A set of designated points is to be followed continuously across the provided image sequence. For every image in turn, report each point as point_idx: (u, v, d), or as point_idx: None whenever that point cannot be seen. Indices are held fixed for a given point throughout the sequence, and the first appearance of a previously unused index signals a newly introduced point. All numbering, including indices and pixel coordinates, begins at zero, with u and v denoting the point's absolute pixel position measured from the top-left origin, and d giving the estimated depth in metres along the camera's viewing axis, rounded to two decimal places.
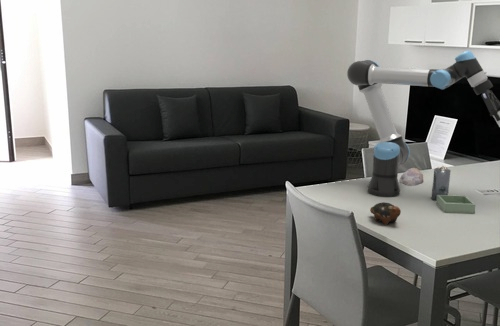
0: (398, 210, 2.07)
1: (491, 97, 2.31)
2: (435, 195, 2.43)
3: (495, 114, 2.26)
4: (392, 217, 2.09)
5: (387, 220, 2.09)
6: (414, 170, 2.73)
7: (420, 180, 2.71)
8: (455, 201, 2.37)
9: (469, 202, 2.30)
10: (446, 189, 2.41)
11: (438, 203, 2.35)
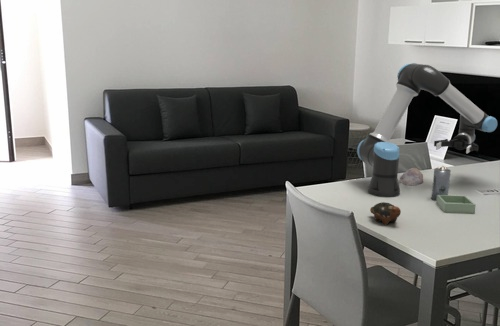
0: (398, 210, 2.07)
1: None
2: (435, 195, 2.43)
3: (473, 148, 2.50)
4: (392, 217, 2.09)
5: (387, 220, 2.09)
6: (414, 170, 2.73)
7: (420, 180, 2.71)
8: (455, 201, 2.37)
9: (469, 202, 2.30)
10: (446, 189, 2.41)
11: (438, 203, 2.35)
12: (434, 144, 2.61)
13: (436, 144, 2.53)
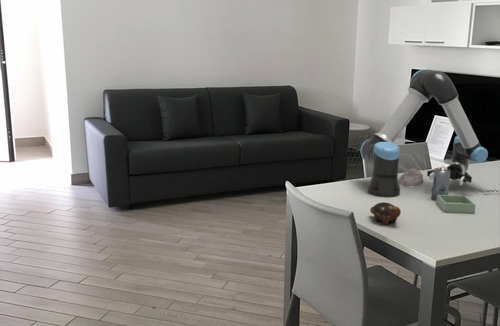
0: (398, 210, 2.07)
1: None
2: (435, 195, 2.43)
3: (467, 180, 2.48)
4: (392, 217, 2.09)
5: (387, 220, 2.09)
6: (414, 170, 2.72)
7: (420, 180, 2.70)
8: (455, 201, 2.37)
9: (469, 202, 2.30)
10: (446, 189, 2.41)
11: (438, 203, 2.35)
12: (427, 174, 2.58)
13: (429, 175, 2.50)
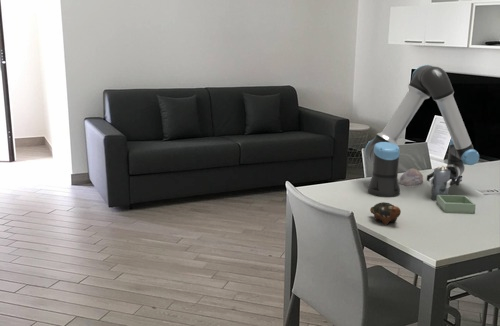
0: (398, 210, 2.07)
1: None
2: (435, 195, 2.43)
3: (454, 183, 2.42)
4: (392, 217, 2.09)
5: (387, 220, 2.09)
6: (414, 171, 2.72)
7: (420, 181, 2.70)
8: (455, 201, 2.37)
9: (469, 202, 2.30)
10: (446, 189, 2.41)
11: (438, 203, 2.35)
12: (427, 179, 2.49)
13: (429, 180, 2.41)
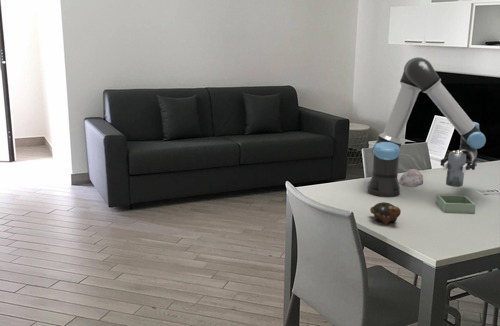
0: (398, 210, 2.07)
1: None
2: (450, 180, 2.32)
3: (470, 167, 2.31)
4: (392, 217, 2.09)
5: (387, 220, 2.09)
6: (414, 171, 2.71)
7: (420, 181, 2.69)
8: (455, 201, 2.37)
9: (469, 202, 2.30)
10: (462, 173, 2.30)
11: (438, 203, 2.35)
12: (441, 163, 2.38)
13: (444, 164, 2.30)
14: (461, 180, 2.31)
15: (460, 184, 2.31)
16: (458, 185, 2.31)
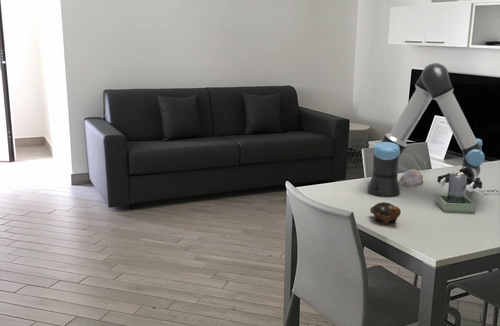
0: (398, 210, 2.07)
1: None
2: (451, 202, 2.30)
3: (477, 185, 2.28)
4: (392, 217, 2.09)
5: (387, 220, 2.09)
6: (414, 171, 2.71)
7: (420, 181, 2.69)
8: None
9: (469, 202, 2.30)
10: (463, 195, 2.28)
11: (438, 203, 2.35)
12: (438, 180, 2.38)
13: (440, 181, 2.30)
14: (462, 202, 2.29)
15: None
16: None
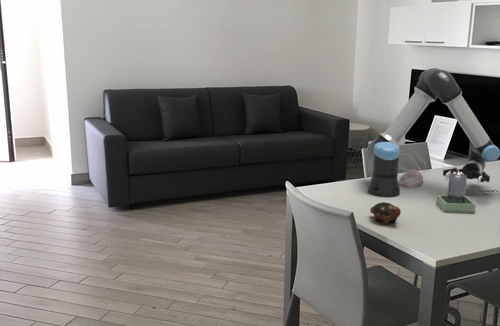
0: (398, 210, 2.07)
1: None
2: (451, 202, 2.30)
3: (484, 179, 2.38)
4: (392, 217, 2.09)
5: (387, 220, 2.09)
6: (414, 171, 2.70)
7: (420, 182, 2.68)
8: None
9: (469, 202, 2.30)
10: (463, 195, 2.28)
11: (438, 203, 2.35)
12: (443, 173, 2.49)
13: (445, 174, 2.41)
14: (462, 202, 2.29)
15: None
16: None
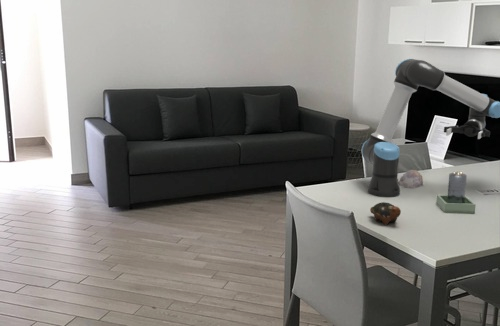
0: (398, 210, 2.07)
1: None
2: (450, 202, 2.30)
3: (485, 134, 2.42)
4: (392, 217, 2.09)
5: (387, 220, 2.09)
6: (414, 172, 2.69)
7: (420, 182, 2.67)
8: None
9: (469, 202, 2.30)
10: (462, 195, 2.28)
11: (438, 203, 2.35)
12: (444, 130, 2.52)
13: (446, 130, 2.44)
14: (462, 202, 2.29)
15: None
16: None
